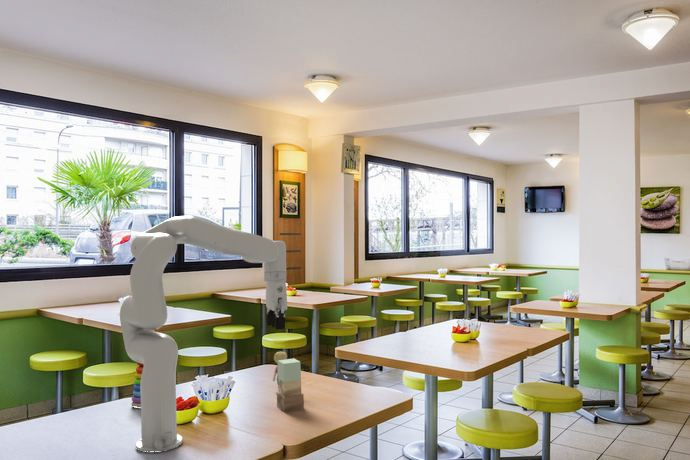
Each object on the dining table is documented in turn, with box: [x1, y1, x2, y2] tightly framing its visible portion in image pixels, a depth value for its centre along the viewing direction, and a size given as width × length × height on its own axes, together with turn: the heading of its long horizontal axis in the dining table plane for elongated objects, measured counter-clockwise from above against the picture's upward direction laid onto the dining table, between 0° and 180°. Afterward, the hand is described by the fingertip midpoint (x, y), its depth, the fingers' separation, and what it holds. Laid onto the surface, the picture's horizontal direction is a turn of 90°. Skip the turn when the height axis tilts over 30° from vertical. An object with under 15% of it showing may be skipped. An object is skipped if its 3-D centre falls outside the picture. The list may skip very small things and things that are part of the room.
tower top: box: [278, 379, 302, 397], centre depth 188 cm, size 6×6×5 cm
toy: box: [272, 351, 288, 392], centre depth 208 cm, size 7×5×15 cm
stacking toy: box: [130, 362, 144, 407], centre depth 194 cm, size 8×8×19 cm
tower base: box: [276, 391, 305, 413], centre depth 188 cm, size 7×7×5 cm
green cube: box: [277, 357, 302, 382], centre depth 188 cm, size 6×6×6 cm
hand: (275, 327), depth 189 cm, fingers open, 9 cm apart
